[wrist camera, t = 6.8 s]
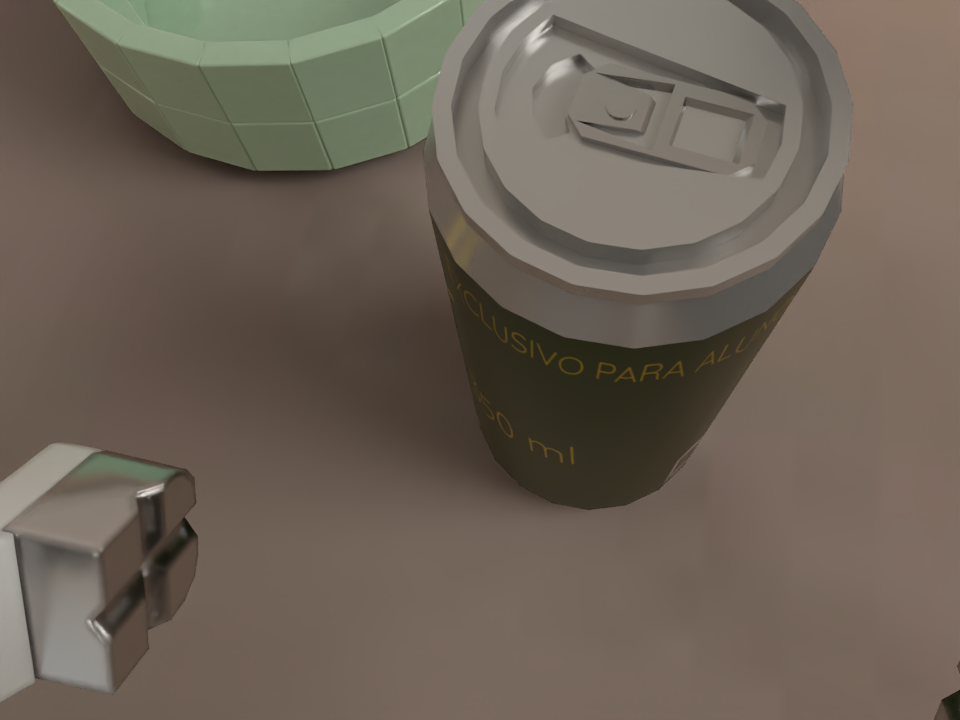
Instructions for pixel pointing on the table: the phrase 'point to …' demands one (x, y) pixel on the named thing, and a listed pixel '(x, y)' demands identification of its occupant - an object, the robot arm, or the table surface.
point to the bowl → (275, 73)
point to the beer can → (626, 220)
